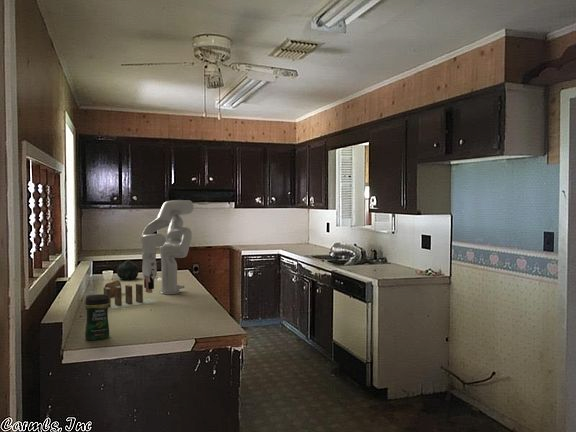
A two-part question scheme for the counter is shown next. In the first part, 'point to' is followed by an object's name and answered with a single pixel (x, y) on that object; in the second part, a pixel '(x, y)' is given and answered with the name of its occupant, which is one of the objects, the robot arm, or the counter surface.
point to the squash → (127, 270)
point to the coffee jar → (97, 317)
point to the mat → (133, 303)
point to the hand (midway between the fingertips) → (149, 287)
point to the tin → (113, 286)
